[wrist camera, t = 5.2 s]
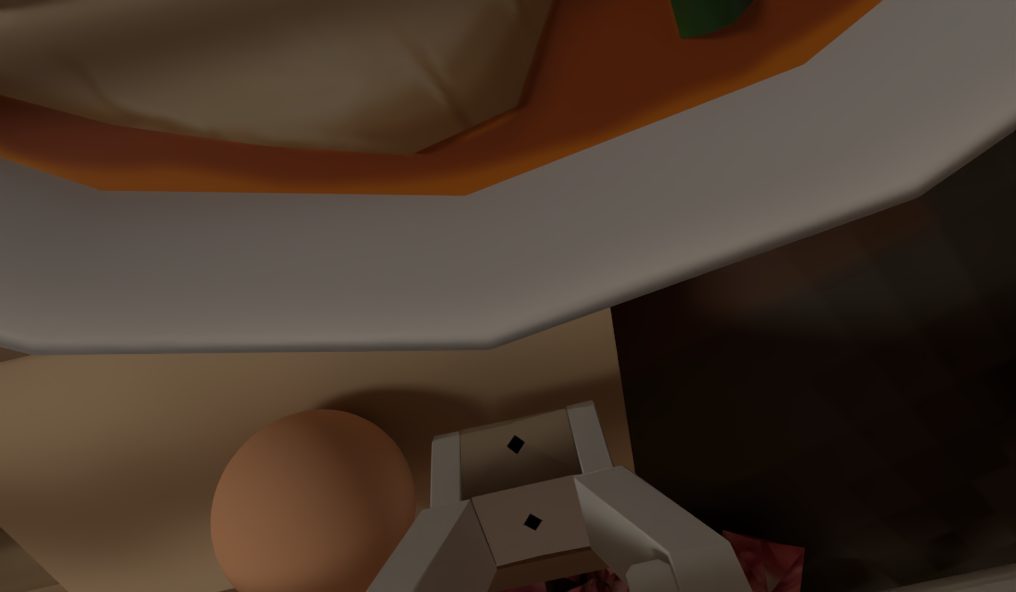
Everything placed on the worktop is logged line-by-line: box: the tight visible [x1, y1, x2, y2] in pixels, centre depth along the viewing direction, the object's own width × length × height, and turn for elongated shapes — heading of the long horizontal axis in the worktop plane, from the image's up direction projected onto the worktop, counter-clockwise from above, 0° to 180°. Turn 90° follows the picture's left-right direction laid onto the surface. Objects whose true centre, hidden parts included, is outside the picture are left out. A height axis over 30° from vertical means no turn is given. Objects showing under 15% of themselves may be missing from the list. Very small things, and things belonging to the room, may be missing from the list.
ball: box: [211, 409, 416, 592], centre depth 11 cm, size 4×4×4 cm
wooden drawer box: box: [0, 307, 635, 592], centre depth 14 cm, size 10×21×4 cm, turn 102°
